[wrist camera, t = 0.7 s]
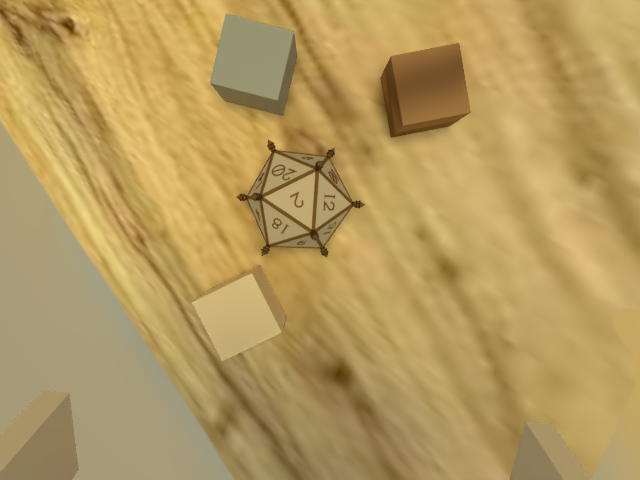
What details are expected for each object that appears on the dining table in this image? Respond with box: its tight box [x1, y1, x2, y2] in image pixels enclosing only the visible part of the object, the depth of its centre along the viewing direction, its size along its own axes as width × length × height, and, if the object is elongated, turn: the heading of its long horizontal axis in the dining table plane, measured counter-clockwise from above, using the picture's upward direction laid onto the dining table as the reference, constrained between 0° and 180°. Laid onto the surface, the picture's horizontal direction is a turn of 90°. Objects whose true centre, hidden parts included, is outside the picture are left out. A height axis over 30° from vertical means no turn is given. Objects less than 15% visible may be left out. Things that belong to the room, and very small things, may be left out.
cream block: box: [192, 265, 286, 361], centre depth 34 cm, size 5×5×5 cm
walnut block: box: [380, 43, 471, 137], centre depth 33 cm, size 5×5×5 cm
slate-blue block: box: [210, 14, 297, 115], centre depth 33 cm, size 5×5×5 cm
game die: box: [237, 140, 365, 257], centre depth 32 cm, size 9×8×10 cm
